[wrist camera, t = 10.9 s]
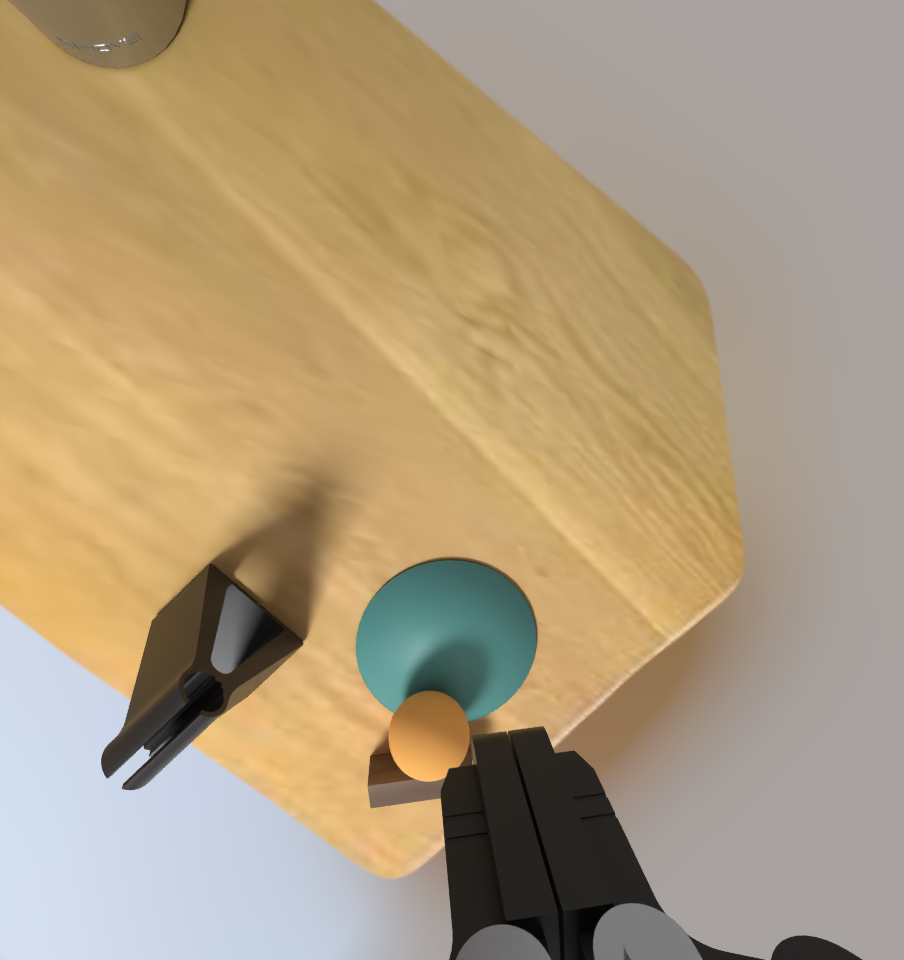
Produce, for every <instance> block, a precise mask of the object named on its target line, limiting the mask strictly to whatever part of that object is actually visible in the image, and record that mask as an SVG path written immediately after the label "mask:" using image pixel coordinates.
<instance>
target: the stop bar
mask: <svg viewBox="0 0 904 960" xmlns="http://www.w3.org/2000/svg"><path fill="white" fill-rule="evenodd" d="M469 765H472V760H471V754H470V748H469V747H468V751H467V753H466V756H465V758H464V760H463V762H462V763H461V764H460V766H459V767H462V766H469ZM445 778H446V777H445ZM445 778H443V779H441V780H438V781H431V782H426V781H420V780H416V779H414V778H412V777H410V776H408V775H407V774H405V773H404V772H403V771H402V770H401V769H400V768H399V767H398V765H397V764H396V762H395V761H394V759H393V756H392V754H384V755H376V756H370V765H369V777H368V792H369V799H370V806H371V808H376V807H383V806H390V805H397V804H403V803H410V802H417V801H424V800H431V799H438V798H441V793H440V791H441V788H442V786H443V783H444V780H445Z"/></svg>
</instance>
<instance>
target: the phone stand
mask: <svg viewBox="0 0 904 960" xmlns="http://www.w3.org/2000/svg"><path fill="white" fill-rule="evenodd" d="M302 645H303V641H302V639H300V638H299V637H298V636H297V635H296V634H295V633H293V632H292V631H291V630H290V629H289V628H287V627H286V626H285V625H284V624H283V623H282V622H280V621H279V620H278V619H277V618H276V617H274V616H273V615H272V614H271V613H270V612H269V611H267V610H266V609H265V608H264V607H263V606H261V605H258V604H257V601H256V600H254V599H253V598H252V597H251V596H250V595H248V594H247V593H246V592H245V591H244V590H243V589H241V588H240V587H239V586H238V585H237V584H235V583H234V582H233V581H232V580H231V579H230V578H228V577H227V576H226V575H225V574H224V573H222V572H221V571H220V570H219V569H218V568H217V567H215V566H214V565H212V564H210V565H209V566H208V567H207V568H206V569H205V570H204V571H203V572H202V573H201V574H200V575H198V576H197V577H196V578H195V579H194V580H193V581H192V582H191V583H190V584H189V585H188V586H187V587H186V588H185V589H184V590H183V591H182V592H181V593H180V594H179V595H178V596H177V597H176V598H175V599H174V600H173V601H172V602H171V603H170V604H169V605H168V606H167V607H166V608H165V609H164V610H163V611H162V612H161V613H159V614H158V615H157V616H156V617H155V618H154V619H153V620H152V623H151V627H150V630H149V634H148V638H147V642H146V645H145V649H144V653H143V657H142V660H141V664H140V668H139V672H138V675H137V679H136V683H135V687H134V690H133V694H132V698H131V702H130V705H129V709H128V713H127V717H126V721H125V723H124V726H123V728H122V730H121V732H120V733H119V735H118V736H117V737H116V738H115V739H114V740H113V741H112V742H110V743H109V744H108V746H107V747H106V748H105V750H104V752H103V754H102V759H101V765H102V770H103V772H104V775H105V776H106V778H109V777H110V776H112V775H113V774H114V773H115V772H116V771H117V770H118V769H119V768H120V767H121V766H122V765H123V764H124V763H125V762H126V761H127V760H128V759H129V758H130V757H131V756H133V755H134V754H135V753H136V752H137V751H138V750H139V749H140V748H141V747H142V746H143V745H144V749H147V750H150V754H149V757H151V758H150V759H149V760H148V761H147V762H146V763H145V764H144V765H143V766H142V767H141V768H139V769H138V770H137V771H136V772H135V773H134V774H133V775H132V776H131V777H130V778H129V779H128V780H127V781H126V782H125V783H124V784H123V787H122V789H125V790H135V789H139V788H141V787H143V786H145V785H146V784H147V783H148V782H149V781H150V780H152V778H154V777H155V776H156V775H157V774H158V773H159V772H160V771H161V770H162V769H163V768H164V767H165V766H166V765H168V764H169V763H170V762H171V761H172V760H173V759H174V758H175V757H176V756H177V755H178V754H179V753H180V752H181V751H182V750H184V748H186V747H187V746H188V745H189V744H190V743H191V742H192V741H193V740H194V739H195V738H196V737H197V736H198V735H200V734H201V733H202V732H203V731H204V730H205V729H206V728H207V727H208V726H209V725H210V724H211V723H212V722H213V721H214V720H216V719H217V718H218V717H220V716H221V715H222V714H224V713H225V712H227V711H228V710H229V709H231V708H232V707H234V706H235V705H237V704H238V703H239V702H241V701H242V700H244V699H245V698H246V697H248V696H249V695H250V694H251V693H252V692H253V691H254V690H255V689H256V688H257V687H258V686H260V685H261V684H262V683H263V682H264V681H265V680H266V679H267V678H268V677H269V676H270V675H271V674H272V673H273V672H275V671H276V670H277V669H278V668H279V667H280V666H281V665H282V664H283V663H284V662H285V661H286V660H287V659H288V658H289V657H291V656H292V655H293V654H294V653H295V652H296V651H297V650H298V649H299V648H300V647H301V646H302Z"/></svg>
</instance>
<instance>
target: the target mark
mask: <svg viewBox="0 0 904 960" xmlns="http://www.w3.org/2000/svg"><path fill="white" fill-rule="evenodd" d="M535 651H536V627H535V622H534V619H533V615H532V613H531V610H530V608H529V606H528V604H527V602H526V600H525V599H524V597H523V596H522V594H521V593H520V592H519V590H518V589H517V588H516V587H515V586H514V585H513V584H512V583H511V582H510V581H509V580H508V579H506V578H505V577H503V576H502V575H501V574H499V573H498V572H496V571H494V570H492V569H490V568H488V567H485V566H482V565H479V564H476V563H472V562H467V561H459V560H441V561H434V562H429V563H425V564H422V565H418V566H415V567H413V568H411V569H409V570H406V571H404V572H403V573H401V574H399V575H398V576H396V577H394V578H393V579H392V580H390V581H389V582H388V583H387V584H385V585H384V586H383V587H382V588H381V589H380V590H379V591H378V592H377V593H376V595H375V596H374V597H373V599H372V600H371V601H370V603H369V604H368V606H367V608H366V610H365V612H364V614H363V616H362V619H361V621H360V624H359V629H358V633H357V641H356V655H357V662H358V666H359V670H360V673H361V675H362V678H363V680H364V682H365V684H366V685H367V687H368V689H369V690H370V691H371V693H372V694H373V695H374V697H375V698H376V699H377V700H378V701H379V702H380V703H381V704H382V705H384V706H385V707H386V708H388V709H389V710H390V711H392V712H394V713H395V712H396V710H397V708H398V707H399V706H400V705H401V703H402V702H403V701H405V700H406V699H407V698H408V697H410V696H412V695H414V694H416V693H418V692H422V691H438V692H441V693H444V694H446V695H448V696H450V697H451V698H453V699H454V700H455V701H456V702H457V703H458V704H459V705H460V707H461V708H462V709H463V711H464V713H465V715H466V717H467V720H468V722H470V721H473V720H476V719H479V718H481V717H483V716H486V715H488V714H489V713H491V712H493V711H495V710H496V709H498V708H499V707H500V706H502V705H503V704H504V703H506V702H507V701H508V700H509V699H510V698H511V697H512V696H513V695H514V694H515V693H516V692H517V690H518V689H519V688H520V687H521V685H522V684H523V682H524V680H525V679H526V677H527V675H528V673H529V671H530V669H531V666H532V663H533V660H534V657H535Z"/></svg>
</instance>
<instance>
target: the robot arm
mask: <svg viewBox="0 0 904 960" xmlns="http://www.w3.org/2000/svg"><path fill="white" fill-rule="evenodd" d="M8 1H9V2H10V3H11V4H13V5H14V6H15V7H16V8H17V9H18V10H19V11H20V12H21V13H22V14H23V15H24V16H25V17H26V18H28V19H29V20H30V21H31V22H32V23H33V24H34V25H35V26H36V27H37V28H38V29H39V30H40V31H41V32H43V33H44V34H45V35H46V36H47V37H48V38H49V39H50V40H51V41H52V42H54V43H55V44H56V45H57V46H59V47H60V48H61V49H62V50H64V51H65V52H66V53H68V54H70V55H72V56H74V57H76V58H77V59H79V60H81V61H83V62H86V63H89V64H93V65H96V66H99V67H105V68H118V69H120V68H126V67H132V66H137V65H139V64H142V63H144V62H146V61H149V60H151V59H152V58H154V57H155V56H156V55H158V54H159V53H160V52H161V51H163V50H164V49H165V48H166V47H167V45H168V44H169V43H170V41H171V40H172V39H173V38H174V36H175V34H176V32H177V30H178V28H179V26H180V24H181V21H182V19H183V14H184V9H185V5H186V0H8ZM471 745H472V758H473V765H469V766H462V767H455V768H449V770H448V772H447V775H446V778H445V780H444V783H443V786H442V788H441V791H440V793H441V804H442V816H443V827H444V839H445V850H446V862H447V873H448V884H449V896H450V907H451V919H452V929H453V943H452V951H451V955H450V959H449V960H763V959H759V958H754V957H749V956H744V955H739V954H734V953H729V952H724V951H721V950H717V949H714V948H711V947H709V946H707V945H704V944H702V943H700V942H698V941H697V940H695V939H693V938H692V937H690V936H689V935H687V934H686V932H685V931H684V930H683V929H682V928H681V927H680V926H679V925H678V924H677V923H676V922H675V921H674V920H673V919H671V918H670V917H669V916H667V915H666V914H665V912H664V911H663V910H662V908H661V907H660V905H659V903H658V902H657V900H656V898H655V896H654V894H653V892H652V890H651V888H650V885H649V883H648V881H647V879H646V877H645V875H644V873H643V871H642V869H641V867H640V865H639V863H638V860H637V858H636V857H635V854H634V852H633V850H632V848H631V846H630V844H629V842H628V839H627V837H626V835H625V833H624V831H623V829H622V827H621V825H620V823H619V821H618V818H616V816H615V812H614V810H613V808H612V806H611V804H610V802H609V800H608V798H606V795H605V791H604V789H603V787H602V785H601V783H600V781H599V779H598V777H597V774H596V772H595V770H594V769H593V768H592V767H591V766H590V765H589V764H588V763H587V762H586V761H585V760H584V759H583V758H582V757H581V756H579V754H577V753H576V752H575V751H568V752H561V753H555V752H554V750H553V747H552V745H551V742H550V740H549V737H548V735H547V732H546V730H545V728H544V727H543V726H541V727H534V728H526V729H519V730H512V731H508V735H507V732H506V731H505V732H498V733H491V734H483V735H476V736H471ZM771 960H862V959H860V958H859V957H857V956H856V955H854V954H852V953H851V952H849V951H847V950H846V949H844V948H842V947H840V946H838V945H836V944H834V943H832V942H829V941H827V940H824V939H821V938H817V937H812V936H794V937H790V938H787V939H785V940H783V941H782V942H780V943H779V944H778V945H777V947H776V948H775V950H774V952H773V954H772V958H771Z"/></svg>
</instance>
